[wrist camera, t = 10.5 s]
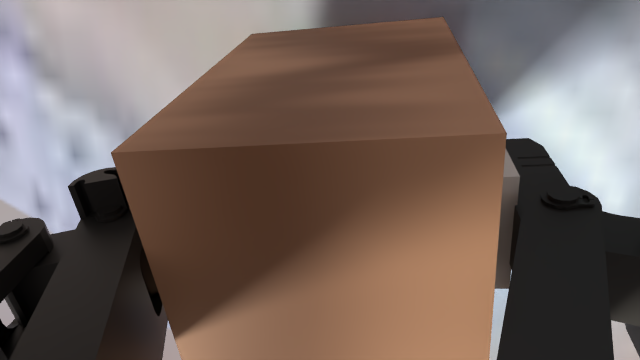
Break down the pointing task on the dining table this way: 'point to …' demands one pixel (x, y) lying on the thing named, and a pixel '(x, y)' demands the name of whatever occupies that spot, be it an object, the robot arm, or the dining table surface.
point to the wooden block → (325, 199)
